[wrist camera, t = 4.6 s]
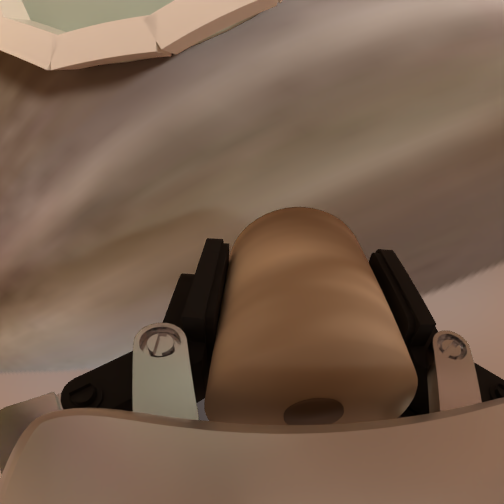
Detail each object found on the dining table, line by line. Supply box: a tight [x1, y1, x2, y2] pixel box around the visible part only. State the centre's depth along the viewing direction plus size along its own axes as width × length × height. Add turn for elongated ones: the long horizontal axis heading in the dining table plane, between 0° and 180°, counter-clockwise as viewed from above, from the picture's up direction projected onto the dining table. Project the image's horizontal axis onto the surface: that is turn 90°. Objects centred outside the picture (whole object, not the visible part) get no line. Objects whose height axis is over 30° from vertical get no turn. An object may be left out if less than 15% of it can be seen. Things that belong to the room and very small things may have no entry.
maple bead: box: [205, 207, 418, 425], centre depth 9 cm, size 5×5×6 cm
